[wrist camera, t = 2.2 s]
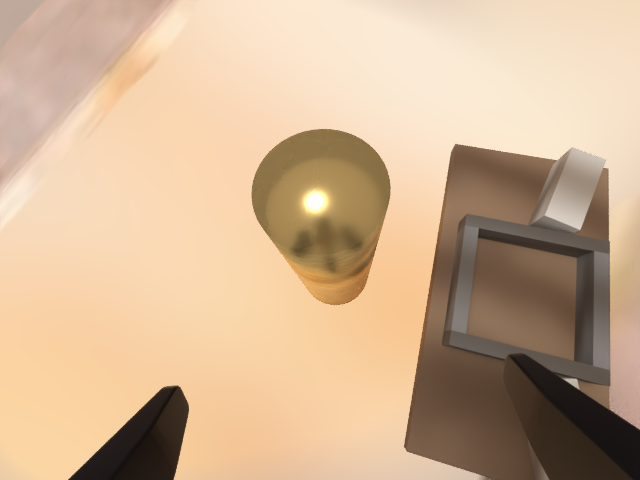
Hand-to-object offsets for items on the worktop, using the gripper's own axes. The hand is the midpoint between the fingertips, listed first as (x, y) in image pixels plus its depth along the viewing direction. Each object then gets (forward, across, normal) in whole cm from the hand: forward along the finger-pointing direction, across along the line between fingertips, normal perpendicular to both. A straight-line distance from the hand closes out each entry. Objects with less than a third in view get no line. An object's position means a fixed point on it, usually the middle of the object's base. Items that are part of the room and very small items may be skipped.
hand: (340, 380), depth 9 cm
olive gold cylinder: (+12, 0, +4) cm, 13 cm away
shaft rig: (+10, -11, +6) cm, 16 cm away
